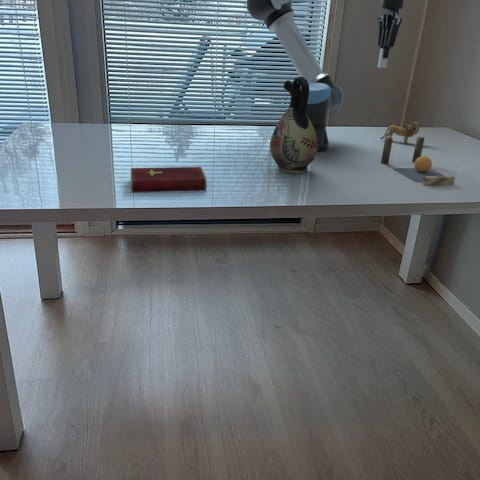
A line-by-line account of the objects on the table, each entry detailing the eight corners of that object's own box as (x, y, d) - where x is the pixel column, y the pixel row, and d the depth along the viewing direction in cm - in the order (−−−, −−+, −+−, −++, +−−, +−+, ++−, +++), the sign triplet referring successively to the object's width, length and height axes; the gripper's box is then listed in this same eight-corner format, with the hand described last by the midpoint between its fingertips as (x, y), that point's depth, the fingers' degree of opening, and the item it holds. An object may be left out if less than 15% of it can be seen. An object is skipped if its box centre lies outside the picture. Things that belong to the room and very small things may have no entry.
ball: (414, 153, 164) (409, 167, 167) (424, 161, 160) (418, 176, 163) (427, 152, 165) (422, 166, 169) (437, 160, 161) (431, 174, 165)
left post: (383, 164, 172) (387, 139, 168) (379, 162, 174) (383, 137, 170) (389, 164, 173) (394, 139, 169) (386, 162, 175) (390, 137, 171)
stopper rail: (425, 185, 152) (427, 178, 151) (421, 183, 153) (423, 176, 152) (453, 184, 154) (455, 177, 153) (449, 182, 156) (451, 175, 155)
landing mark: (415, 182, 155) (415, 181, 155) (393, 169, 167) (393, 168, 167) (453, 180, 158) (453, 179, 158) (428, 167, 170) (428, 167, 170)
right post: (414, 163, 175) (419, 138, 171) (410, 161, 177) (415, 136, 173) (420, 163, 176) (426, 138, 172) (416, 161, 178) (421, 136, 174)
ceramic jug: (260, 164, 165) (266, 72, 152) (301, 162, 170) (310, 72, 157) (282, 180, 151) (290, 79, 138) (325, 176, 156) (337, 79, 143)
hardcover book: (206, 192, 139) (206, 178, 138) (131, 194, 135) (130, 179, 133) (201, 179, 150) (201, 165, 148) (131, 180, 146) (130, 167, 144)
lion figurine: (416, 142, 204) (420, 121, 201) (416, 145, 200) (420, 123, 196) (380, 138, 209) (384, 117, 205) (379, 141, 204) (383, 119, 200)
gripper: (413, -4, 164) (400, 69, 174) (393, -4, 175) (382, 65, 186) (393, -5, 162) (381, 69, 172) (374, -5, 174) (364, 65, 184)
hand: (381, 67), depth 179 cm, fingers closed
